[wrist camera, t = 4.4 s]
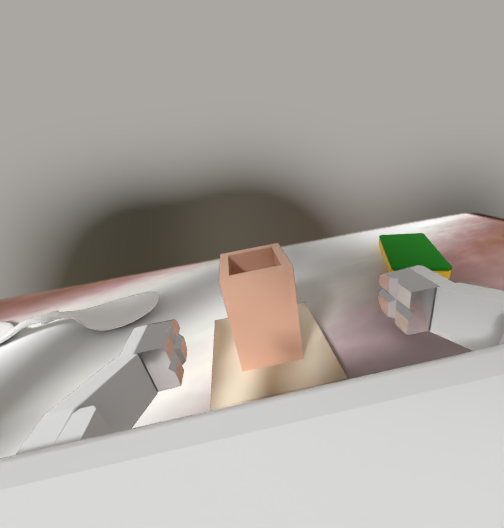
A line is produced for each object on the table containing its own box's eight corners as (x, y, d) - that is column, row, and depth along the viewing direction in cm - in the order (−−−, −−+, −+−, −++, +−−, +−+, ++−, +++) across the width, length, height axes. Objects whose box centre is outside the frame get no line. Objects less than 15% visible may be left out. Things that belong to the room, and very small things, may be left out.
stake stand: (214, 419, 21) (186, 345, 18) (217, 329, 32) (201, 273, 28) (347, 390, 21) (347, 312, 18) (305, 311, 32) (300, 253, 29)
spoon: (-12, 332, 42) (-25, 316, 41) (168, 296, 43) (161, 279, 42) (-69, 374, 34) (-88, 356, 33) (154, 329, 35) (146, 310, 33)
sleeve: (242, 371, 23) (219, 282, 19) (238, 331, 29) (220, 254, 25) (303, 358, 23) (293, 267, 19) (288, 320, 29) (277, 242, 25)
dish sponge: (421, 244, 45) (423, 232, 44) (449, 283, 33) (453, 267, 32) (378, 246, 47) (379, 234, 46) (391, 282, 36) (392, 267, 35)
